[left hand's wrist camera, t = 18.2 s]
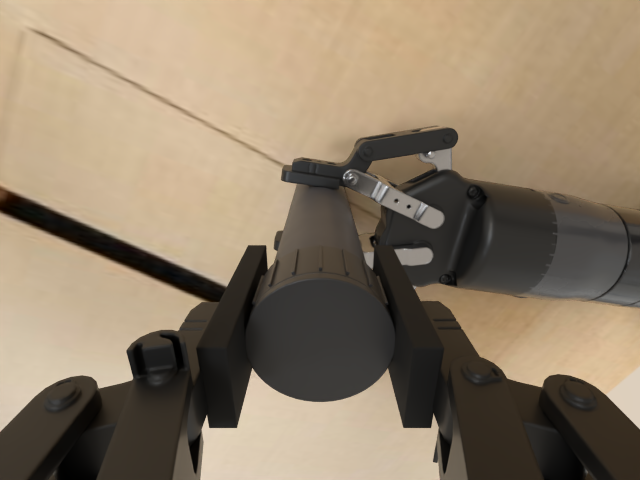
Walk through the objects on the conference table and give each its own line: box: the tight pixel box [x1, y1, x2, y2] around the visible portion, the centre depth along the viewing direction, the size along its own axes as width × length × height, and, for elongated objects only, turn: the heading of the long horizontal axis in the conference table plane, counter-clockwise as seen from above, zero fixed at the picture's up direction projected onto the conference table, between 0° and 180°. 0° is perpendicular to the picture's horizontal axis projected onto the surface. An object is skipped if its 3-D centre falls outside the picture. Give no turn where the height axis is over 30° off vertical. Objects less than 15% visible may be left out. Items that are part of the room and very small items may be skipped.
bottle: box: [274, 184, 366, 262], centre depth 20 cm, size 4×4×20 cm
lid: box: [245, 245, 396, 402], centre depth 11 cm, size 5×5×2 cm
